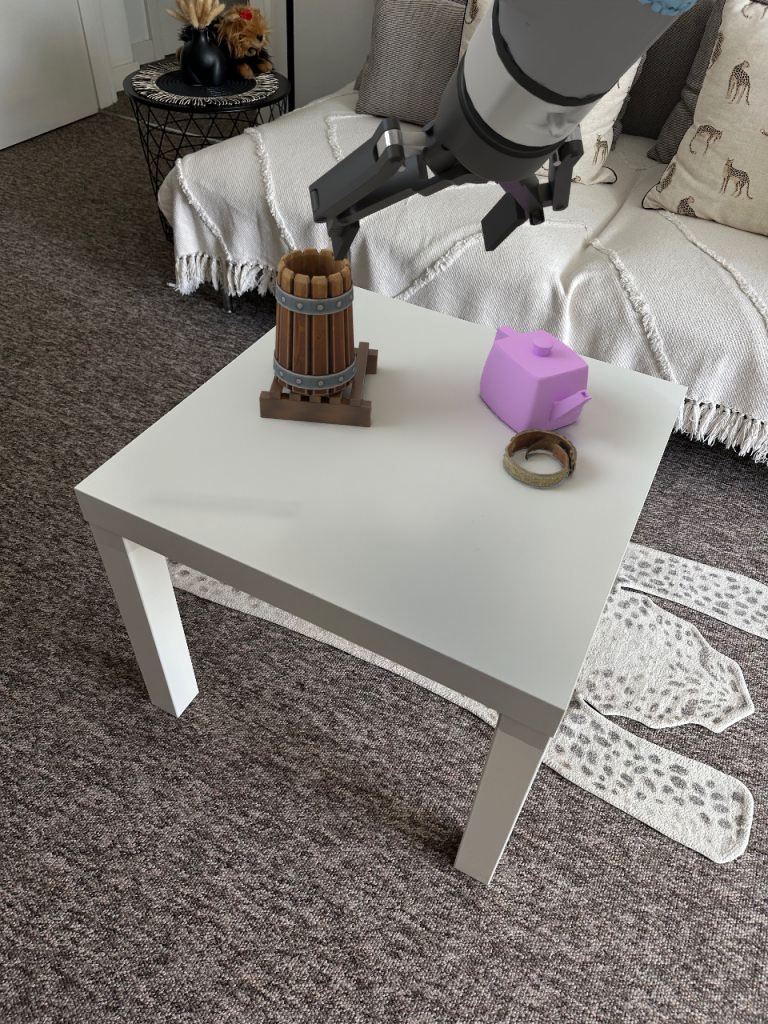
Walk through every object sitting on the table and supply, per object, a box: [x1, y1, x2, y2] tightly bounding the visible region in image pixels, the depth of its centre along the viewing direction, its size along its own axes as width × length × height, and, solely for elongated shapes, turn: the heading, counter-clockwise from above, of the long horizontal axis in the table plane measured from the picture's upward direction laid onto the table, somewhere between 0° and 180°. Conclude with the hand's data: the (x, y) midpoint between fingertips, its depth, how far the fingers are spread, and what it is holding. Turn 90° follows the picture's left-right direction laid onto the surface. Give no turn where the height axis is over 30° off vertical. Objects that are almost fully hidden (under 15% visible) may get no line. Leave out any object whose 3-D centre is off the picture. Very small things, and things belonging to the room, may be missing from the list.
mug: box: [272, 240, 356, 396], centre depth 87 cm, size 16×11×15 cm
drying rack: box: [258, 341, 379, 428], centre depth 94 cm, size 14×14×4 cm
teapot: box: [479, 324, 593, 433], centre depth 92 cm, size 18×10×10 cm, turn 28°
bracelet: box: [502, 429, 578, 488], centre depth 86 cm, size 9×9×3 cm
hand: (413, 240), depth 61 cm, fingers open, 13 cm apart
